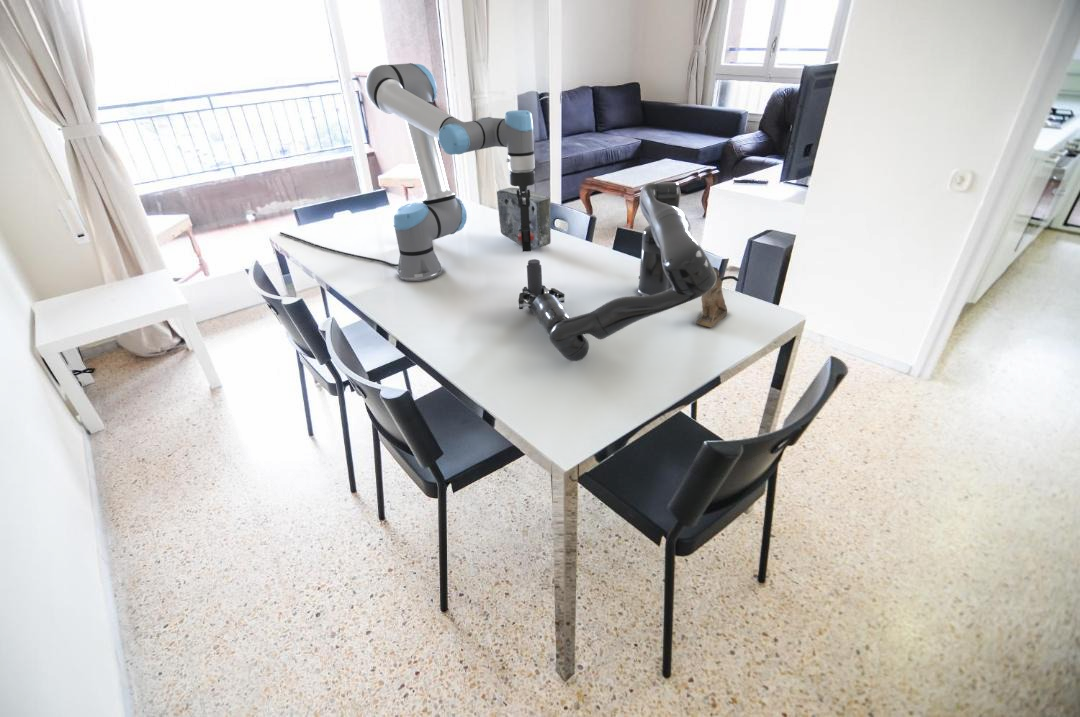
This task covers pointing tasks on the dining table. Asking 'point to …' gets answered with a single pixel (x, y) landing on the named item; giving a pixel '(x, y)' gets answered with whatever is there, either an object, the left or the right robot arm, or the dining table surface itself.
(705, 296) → the worn brown figurine
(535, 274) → the jar
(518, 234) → the lid
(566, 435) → the dining table surface
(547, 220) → the concrete block
